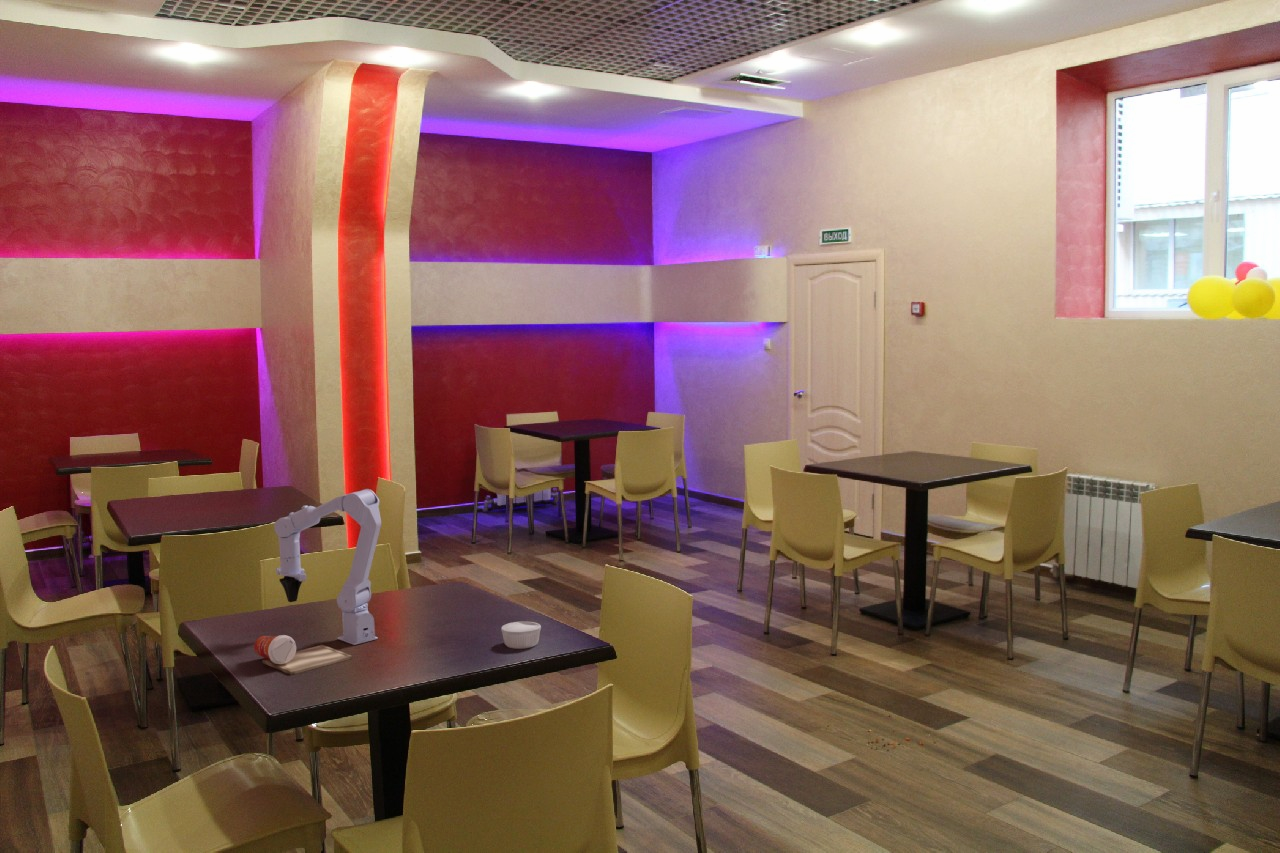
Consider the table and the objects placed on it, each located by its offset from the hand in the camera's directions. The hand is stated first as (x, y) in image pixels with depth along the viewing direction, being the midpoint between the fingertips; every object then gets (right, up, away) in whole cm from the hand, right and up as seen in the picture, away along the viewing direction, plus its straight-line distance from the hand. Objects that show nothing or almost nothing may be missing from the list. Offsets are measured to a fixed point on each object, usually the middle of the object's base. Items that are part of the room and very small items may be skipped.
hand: (292, 601), depth 312 cm
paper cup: (-1, -9, -21) cm, 23 cm away
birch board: (+12, -12, -24) cm, 30 cm away
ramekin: (+70, -10, -13) cm, 72 cm away
